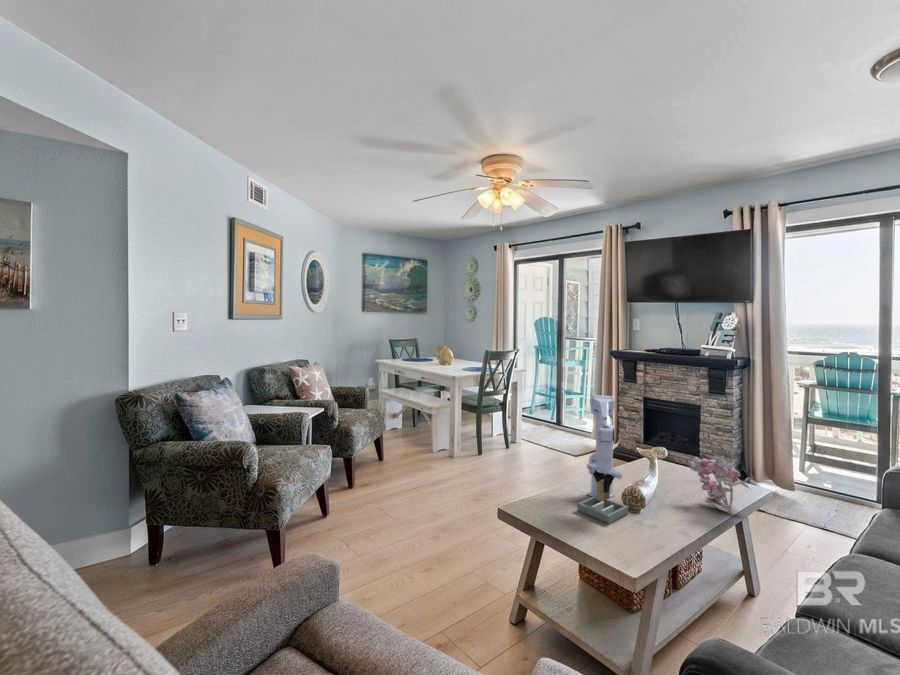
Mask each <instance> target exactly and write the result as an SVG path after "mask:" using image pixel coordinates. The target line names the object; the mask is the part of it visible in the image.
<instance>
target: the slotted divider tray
mask: <svg viewBox="0 0 900 675" xmlns="http://www.w3.org/2000/svg"><path fill="white" fill-rule="evenodd" d="M576 511H577V512H578V513H580V514H583V515H585V516H587V517H590V518H592V519H595V520H598V521H599V522H602V523H604V524H607V525H611V524H613V523H614V522H617V521H619V520H621V519H622V518H624V517H626V516H628V515H629V506H628V505H626V504H622V503H619V502H617V501H614V500H612V499H610V498H608V499H606V500H604V501H602V502H601V501H598V500H597V495H596V496H593V497H592V496H590V497H589V498H586V499H584V500H582V501H580V502H577V509H576Z"/></svg>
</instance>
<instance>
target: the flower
mask: <svg viewBox="0 0 900 675" xmlns="http://www.w3.org/2000/svg"><path fill="white" fill-rule="evenodd" d="M691 459H692V460H691V461H690V460H689V459H688V460H687V461H688V464H690V466H689V469H690V470H692V471H693V472H697V475H698V477H699V478H698V481H699V482H700V483H702V485H701V490H702V491H707V495H708V497H709V498H712V499H714V500H715V501H723V504H724V505H725V507H723V506H722V505H720V504H718V503H711V502H710V503H707V504H706V505H705V506H706V507H708V506H713V507H715V508H717V509H718V510H720V511H723V512H726V513H729V514H730V515H731V516H733V514H732V512H731V509H732V506H733V501H734V500H733V499H734V495H733V493H734V489H733V487H735V486H739V485H741V486H743V487H744V488H748V489H750V486H749V485H747V483H746V482H744V481H743V480H740V479H739V477H741V473H740V471H739V470H737V469H735V468H734V461H731V462H730V461H729V460H727V458H725V455H720V456H718V455H717V454H715V455H714V456H713V457H712V459H708V458H702V459H699V457H697V456H693V457H692V458H691ZM713 470H715V471H714V472H713ZM711 474H712V475H713V477H714V478H715V480H716V481H715V480H713V479H712V480H711V477H710V475H711ZM722 482H723V484H724V487H723V485H722ZM726 485H727V486H728V487H725V486H726ZM728 492H729V493H730V495H729V497H730V498H729V500H730V501H729V502H728V499H727V493H728Z"/></svg>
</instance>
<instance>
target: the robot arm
mask: <svg viewBox="0 0 900 675" xmlns="http://www.w3.org/2000/svg"><path fill="white" fill-rule="evenodd" d="M614 409H615V396H613V395H603V394H601V395H600V394H591V395H590V413H591V414H592V416H593V415H594V417H595V421H596V422H595V426H596V428H595V452H594V453H593V454H591V455H590V456H589V457H588V458H589V459H588V463H587V464H586V469H587V470H588V473H589V475H591V482H590V491H589V492H587V493H586V495H587V496H590V497H593V496H596V495H597V482H598V481H600V480H602V479H604V493H607V492H608V491H609V488H610V498H612V497H614V496H615V494H614V493H613V485H614V482H613V481H614V480H615V478H617V480H621V479H622V480H623V476H624V474H623V472H620V471H618V470H615V469H614V462H613V457H614V455H613V454H614V444H615V441H616V429H615V428H614V427H613V420H612V418H611V416H612V415H613V413H614Z"/></svg>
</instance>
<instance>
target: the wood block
mask: <svg viewBox="0 0 900 675" xmlns="http://www.w3.org/2000/svg"><path fill="white" fill-rule="evenodd" d="M610 498H611V497H610V488H609V491H608V492H607V493H604V479H602V480H600V481H598V482H597V500H598V501H601V502H602V501H604V500H606V499H610Z"/></svg>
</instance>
